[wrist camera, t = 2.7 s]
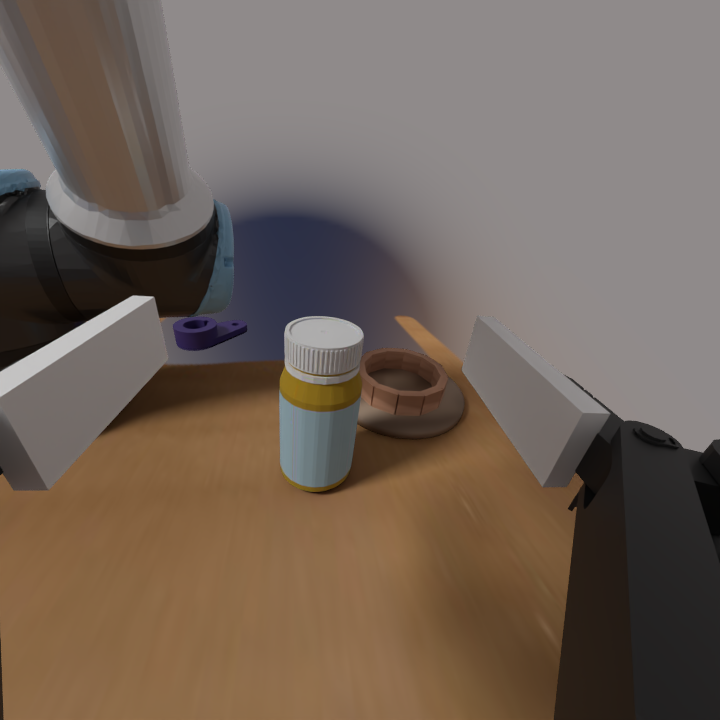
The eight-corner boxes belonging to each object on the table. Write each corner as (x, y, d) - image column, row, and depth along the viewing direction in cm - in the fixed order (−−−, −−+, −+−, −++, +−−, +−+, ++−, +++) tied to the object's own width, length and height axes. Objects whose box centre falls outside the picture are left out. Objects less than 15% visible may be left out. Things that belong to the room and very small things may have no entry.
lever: (188, 354, 49) (185, 336, 47) (169, 340, 52) (165, 323, 50) (255, 333, 57) (254, 317, 56) (235, 322, 60) (234, 306, 59)
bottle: (328, 509, 28) (343, 361, 21) (265, 476, 30) (259, 333, 23) (361, 458, 34) (382, 328, 26) (306, 433, 36) (311, 308, 29)
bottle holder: (310, 377, 46) (311, 353, 44) (403, 352, 56) (407, 331, 54) (388, 460, 34) (393, 432, 32) (490, 410, 43) (499, 386, 41)
